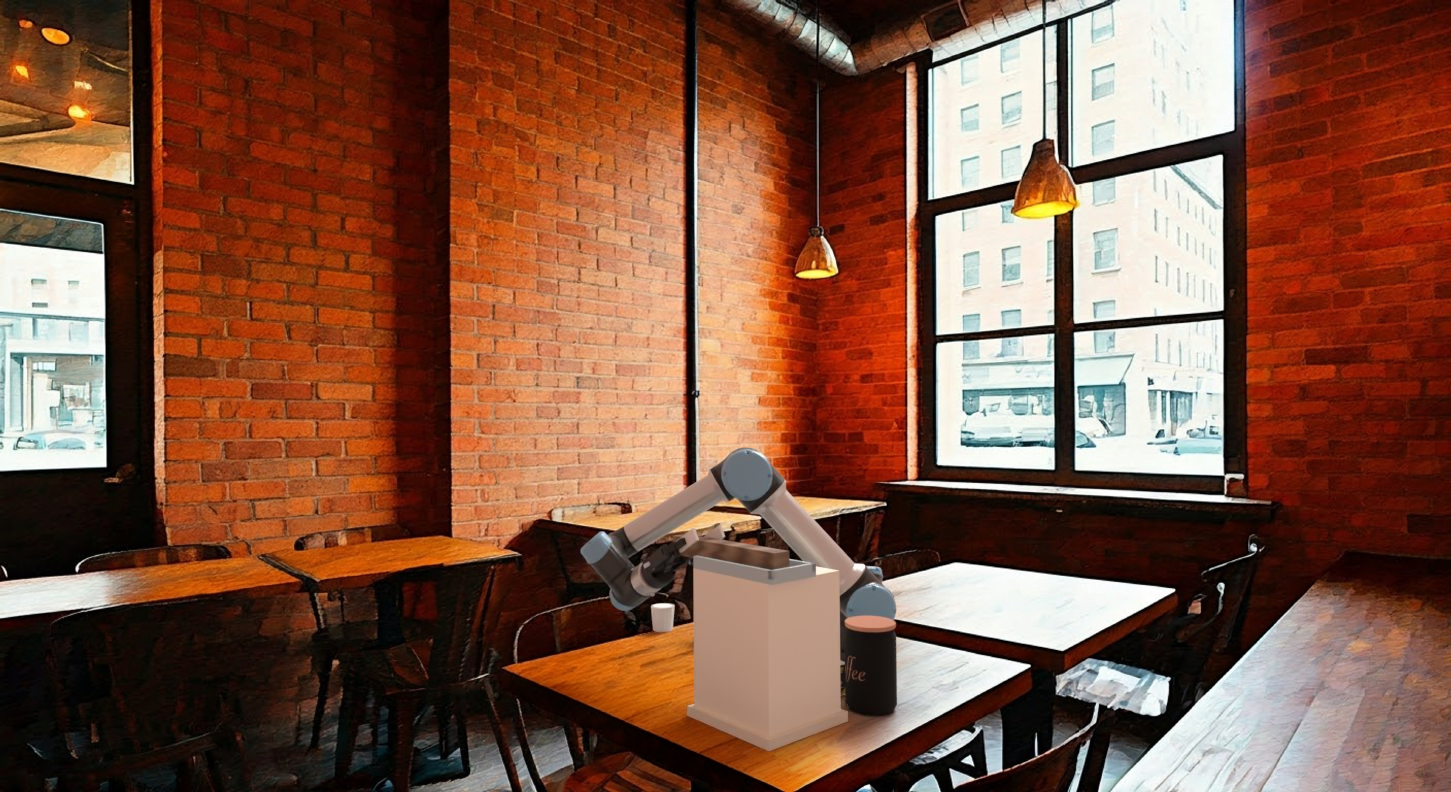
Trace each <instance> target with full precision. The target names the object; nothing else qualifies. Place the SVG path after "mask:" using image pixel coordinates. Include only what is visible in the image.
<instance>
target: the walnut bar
mask: <svg viewBox="0 0 1451 792" xmlns="http://www.w3.org/2000/svg"><path fill="white" fill-rule="evenodd" d="M685 534H686V533H683V534H675V535H672V542H676V541H677V540H678V539H679V538H681V537H682V536H683V535H685ZM698 538H699V540H698V541H697V542H696V543H694V544H693V545H692V546H690V547H689V548H688V549H686V550H685V551H684V552H682V553H680V552H679V550H678V552H679V555H681V556H685V557H690V558H693V556H702V557H708V558H713V559H718V560H723V561H728V562H733V563H738V564H744V565H749V566H754V567H759V568H764V569H769V570H774V569H780V568H786V567H789V559H790V550H786V549H780V548H773V547H769V546H768V547H767V546H762V545H756V544H755V545H754V544H750V543H743V542H739V541H738V542H737V541H731V540H725V539H721V540H720V539H714V538H708V537H703V535H702V536H701V535H698Z"/></svg>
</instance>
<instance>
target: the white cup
mask: <svg viewBox="0 0 1451 792" xmlns="http://www.w3.org/2000/svg"><path fill="white" fill-rule="evenodd" d="M650 610H651V621H652V630H653V631H654V632H656V633H669V632H671V631H673V629H674V628H673V627H674V619H675V618H674V617H675V616H674V615H675V604H674V603H667V602H664V603H663V602H662V603H661V602H660V603H655V604H651V606H650Z"/></svg>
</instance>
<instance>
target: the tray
mask: <svg viewBox="0 0 1451 792" xmlns="http://www.w3.org/2000/svg"><path fill="white" fill-rule="evenodd" d="M692 567H693V568H695V569H699V570H704V571H709V572H713V573H718V574H723V575H727V576H732V577H737V578H741V579H746V580H751V581H755V582H760V583H764V584H769V585H775V584H780V583H785V582H790V581H795V580H800V579H806V578H811V577H816V563H810V562H804V561H803V560H798V559H791V558H789V567H786V568H780V569H774V570H769V569H764V568H759V567H754V566H749V565H744V564H738V563H733V562H728V561H723V560H718V559H713V558H708V557H702V556H693V565H692ZM693 568H692V569H693Z"/></svg>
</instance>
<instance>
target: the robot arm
mask: <svg viewBox="0 0 1451 792" xmlns="http://www.w3.org/2000/svg"><path fill="white" fill-rule="evenodd" d="M735 499H737V500H738V501H739V502H740V504H741V505H742V506H743V507H744V508H745V509H746V510H747V512H748V513H750V515H751V514H752V515H753V514H754V515H760V516H761V517H762V519H764V520H765V521H766V523H767V524H768V526H770V527H771V528H772V530H774V531H775V532H776V533H777V534H778V535H779V536H780V538H781V539H782V540H783V541H784V542H785V543H786V544H787V546H789V547H790V549H791V550H792V551H793V552H794V553H796V555H797V556H798V557H799V558H800V559H801V561H804V562H810V563H816V566H817V567H822V568H828V569H833V570H839V585H840V660H841V661H843V662H845V631H846V630H847V627H846V626H845V620H846V619H847V618H850V617H854V616H880V617H886V618H889V619H892V620H894V621H895V618H896V614H897V604H896V599H895V596H894V594H893V593H892V591H891V590H889V588H887V587H886V586H885V585H884V583H883V578H884V575H883V569H882V568H881V567H879V566H874V565H873V566H872V565H871V566H870V565H865V564H864V563H855V562H854V561H853V560H852V559H851V557H849V555H847V553H846V552H845V551H844V550H843V549H842V548H841V547H840V546H839V545H838V544H837V543H836V541H834V540H833V538H832V537H831V536H830V535H829V534H828V533H827V532H826V531H825V530H824V529H823V527H821V526H820V524H819V523H818V522H817V521H816V520H815V519H814V518H813V517H812V516H811V515H810V514H809V512H807V510H806V509H805V508H804V507H803V506H802V505H801V504H800V503H799V502H798V500H797V499H795V497H794V496H793V495H792V494H791V493H790V492H789V491H788V490H787V479H786V478H785V477H784V476H783V475H782V474H781V473H780V472H779V471H778V469H776V468H775V467H774V465H773V464H772V463H771V462H770V461H769V459H768V458H767V457H766V456H765V454H763V453H762V452H760V451H759V450H757V449H755V448H752V447H739V448H737V449H735V450H733V451H731V452H730V453H729V454H728V455H727V456H726V457H725V458H724V459H723V460H722V461H720V462H718V463H717V464H716V465H714V466H713V467H710V468H709V469H708V472H707V475H706V476H704V477H703V478H701V479H699V480H697V481H696V482H694V483H693V484H691V485H689V486H687V487H686V488H684V489H683V490H681V491H679V492H677V493H676V494H674V495H673V496H670V497H669V498H668V499H665V500H664V501H663V502H661V503H660V504H657V505H656V506H654V507H653V508H651V509H649V510H647V511H646V512H644V513H642V514H641V515H640V516H638V517H636V518H635V519H632V520H631V521H630V522H628V523H626V524H623V526H622V527H619V528H618V529H616V530H615V531H613V532H610V533H608V534H607V533H606V532H605V531H599V532H598V533H597V534H595V535H594V536H593V537H592V538H591V539H589V540H588V541H587V542H586V543H585V544H584V545H583V546H582V547H581V548H580V554H581V555H582V556H583V558H584V560H585V561H586V562H587V564H589V565H590V566H591V567H592V569H593V570H594V572H596V573H597V574H598V575H599V577H601V579H602V580H603V581H604V582H605V583H606V584H607V586H608V587H609V588H610V590H609V599H610V602H611V604H612V605H613V606H614V607H615V608H616V609H617V610H620V611H622V612H623V611H624V612H628V611H631V610H633V609H634V608H636V607H639V606H640V605H641V604H642V603H644V602H645V601H647V600H648V599H649V598H651V597H652V598H653V597H654V596H655V595H656V594H655V593H657V592H659V591H660V590H661V589H664V587H666V586H668V585H669V584H670V583H671V582H672V581H673V580H674V579H675V576H676V574H677V571H679V570H680V569H681V568H682V567H684V566H687V564H688V566H691V567H693V558H690V557H685V556H681V555H679V552H680V553H682V552H684V551H685V550H686V549H688V548H689V547H690V546H692V545H693V544H694V543H696V542H697V541H698V540H699V538H698V536H699V535H698V533H697V529H696V527H693V528H691V529H690V530H688V531H687V532H685V533H684V534H685V535H683V534H682V535H683V536H682V537H681V538H679V539H678V540H677V541H676V542H673V541H671V542H670V543H669V545H668V544H667V543H663V544H662V545H661V546H659V548H657V549H656V550H655V551H654V552H653V553H652V554H651V555H650V556H649V557H647V558H646V559H644V560H642V561H641V562H640V563H639V564H638V565H636V566H634V564H633V563H632V562H631V561H630V560H629V559H630V558H631V557H632V556H633V555H635V554H637V553H638V552H640V551H641V550H644V548H646V547H648V546H650V545H651V544H653V543H655V542H656V541H658V540H660V539H662V538H663V537H665V536H666V535H668V534H670V533H671V532H673V531H675V530H677V529H678V528H680V527H682V526H684V525H685V524H686V523H688V522H690V521H692V520H694V519H695V518H696V517H699V516H700V515H701V514H703V513H705V512H706V511H709V510H710V509H711V508H714V507H715V506H716V505H718V504H720V503H722V502H726V503H729V502H731V501H732V500H735ZM725 534H726V533H725V532H724V528H723V527H722V525H721V524H719V525H717V526H716V527H714V528H713V529H712V530H709V532H708V533H706V534H704V535H702V537H708V538H714V539H720V540H724V538H726V535H725ZM678 550H679V552H678Z"/></svg>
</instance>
